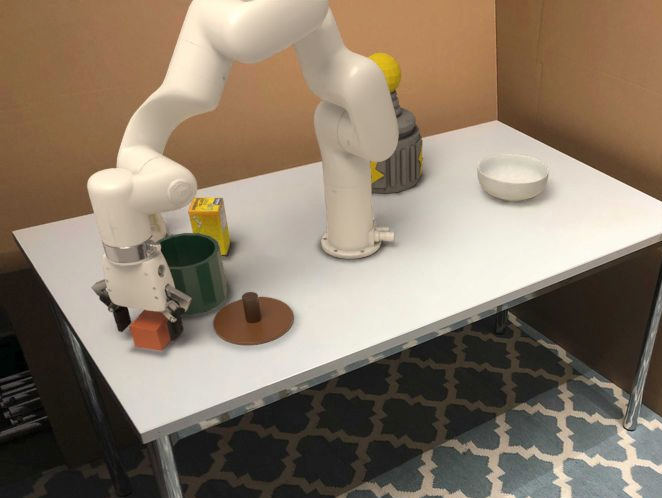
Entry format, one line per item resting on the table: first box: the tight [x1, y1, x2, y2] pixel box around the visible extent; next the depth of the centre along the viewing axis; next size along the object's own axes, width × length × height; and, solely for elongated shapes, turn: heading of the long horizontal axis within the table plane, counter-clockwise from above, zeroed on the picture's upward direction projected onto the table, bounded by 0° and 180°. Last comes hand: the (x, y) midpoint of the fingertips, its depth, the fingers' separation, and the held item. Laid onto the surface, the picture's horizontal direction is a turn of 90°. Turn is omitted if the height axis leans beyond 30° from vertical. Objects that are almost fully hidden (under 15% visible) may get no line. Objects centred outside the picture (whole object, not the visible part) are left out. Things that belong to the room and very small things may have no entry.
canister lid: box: [212, 291, 294, 346], centre depth 139 cm, size 14×14×6 cm
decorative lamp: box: [367, 52, 424, 194], centre depth 180 cm, size 19×19×30 cm
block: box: [128, 310, 172, 352], centre depth 134 cm, size 5×5×5 cm
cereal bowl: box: [476, 153, 550, 203], centre depth 183 cm, size 17×17×7 cm
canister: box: [156, 232, 229, 316], centre depth 143 cm, size 13×13×10 cm
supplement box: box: [187, 196, 232, 258], centre depth 156 cm, size 6×6×11 cm
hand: (151, 331), depth 133 cm, fingers open, 9 cm apart
